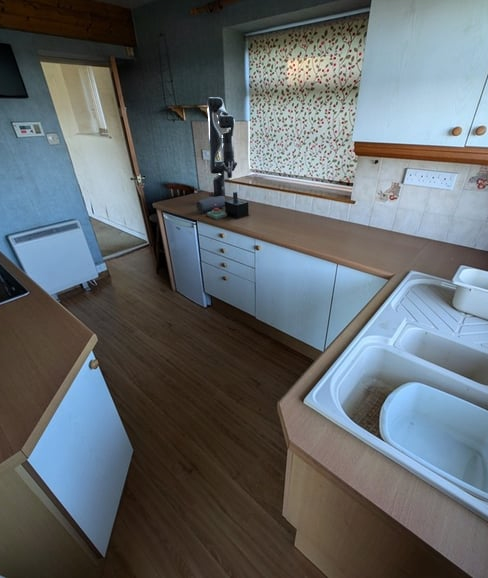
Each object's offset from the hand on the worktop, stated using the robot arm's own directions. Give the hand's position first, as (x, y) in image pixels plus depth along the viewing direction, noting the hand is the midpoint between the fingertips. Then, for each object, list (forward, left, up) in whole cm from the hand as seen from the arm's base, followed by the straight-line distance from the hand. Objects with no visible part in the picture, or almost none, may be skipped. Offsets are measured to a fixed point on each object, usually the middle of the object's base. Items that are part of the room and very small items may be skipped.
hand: (229, 177), depth 203 cm
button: (-8, -8, -23) cm, 26 cm away
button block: (-8, -8, -27) cm, 29 cm away
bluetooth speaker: (-21, -3, -27) cm, 34 cm away
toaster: (+1, +4, -27) cm, 27 cm away
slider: (-3, +7, -17) cm, 18 cm away
